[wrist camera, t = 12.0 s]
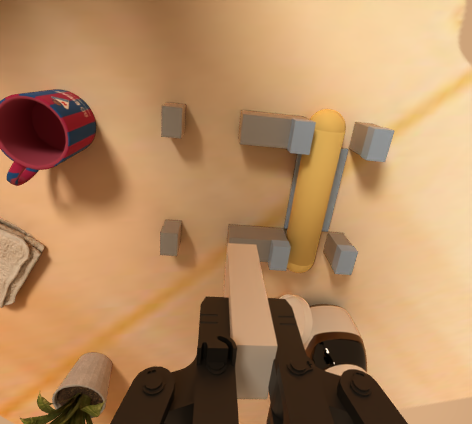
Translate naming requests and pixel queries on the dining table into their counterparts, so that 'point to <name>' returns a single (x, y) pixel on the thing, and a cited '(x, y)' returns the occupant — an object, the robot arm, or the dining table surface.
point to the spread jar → (328, 336)
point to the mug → (43, 131)
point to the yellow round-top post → (314, 189)
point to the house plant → (78, 393)
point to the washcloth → (15, 259)
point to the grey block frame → (299, 142)
